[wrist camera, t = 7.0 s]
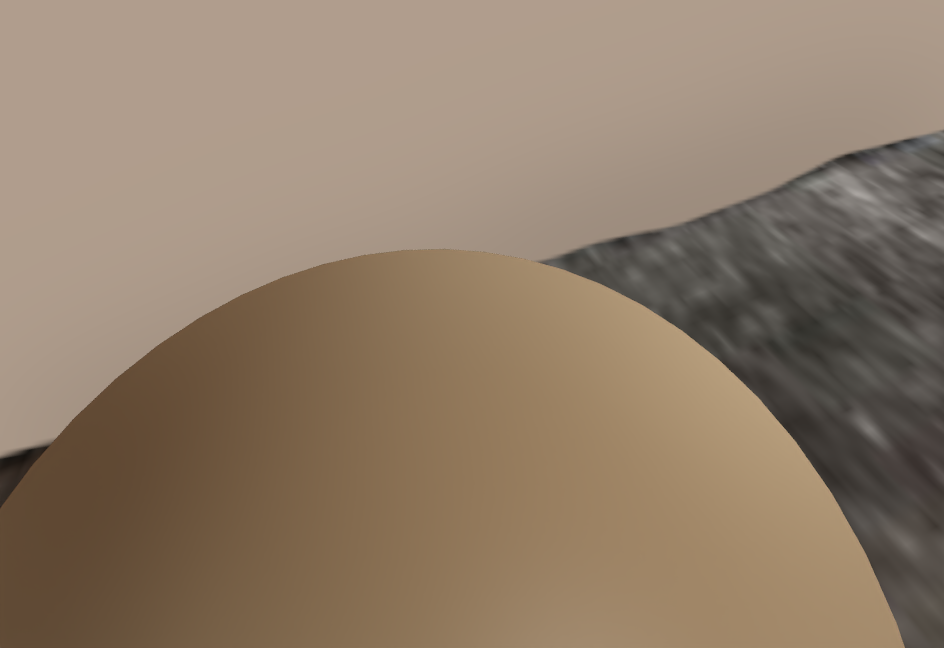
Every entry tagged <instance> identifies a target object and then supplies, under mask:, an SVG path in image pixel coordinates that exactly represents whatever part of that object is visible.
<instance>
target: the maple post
mask: <svg viewBox="0 0 944 648" xmlns="http://www.w3.org/2000/svg"><path fill="white" fill-rule="evenodd" d="M0 648H905V647H904V644H903V641H902V638H901V635H900V632H899V629H898V626H897V624H896V621H895V619H894V617H893V615H892V612H891V610H890V608H889V606H888V603H887V601H886V599H885V596H884V594H883V592H882V590H881V587H880V585H879V583H878V581H877V578H876V576H875V574H874V572H873V569H872V567H871V565H870V563H869V560H868V558H867V556H866V554H865V552H864V550H863V548H862V547H861V545H860V543H859V541H858V539H857V538H856V536H855V534H854V532H853V531H852V529H851V527H850V525H849V523H848V522H847V520H846V518H845V516H844V515H843V513H842V511H841V509H840V507H839V506H838V504H837V502H836V500H835V499H834V497H833V495H832V493H831V492H830V490H829V489H828V488H827V486H826V485H825V483H824V482H823V480H822V479H821V478H820V476H819V475H818V473H817V472H816V470H815V469H814V468H813V466H812V465H811V463H810V462H809V460H808V459H807V457H806V456H805V455H804V453H803V452H802V450H801V449H800V447H799V446H798V445H797V443H796V442H795V441H794V439H793V438H792V437H791V436H790V435H789V434H788V432H787V431H786V430H785V429H784V428H783V426H782V425H781V424H780V423H779V422H778V421H777V419H776V418H775V417H774V416H773V415H772V414H771V412H770V411H769V410H768V409H767V408H766V406H765V405H764V404H763V403H762V402H761V401H760V399H759V398H758V397H757V396H756V395H755V394H754V393H753V392H752V391H751V390H749V389H748V388H747V387H746V386H745V385H744V384H743V383H742V382H741V381H740V380H739V379H738V378H737V377H736V376H735V375H734V374H733V373H732V372H731V371H730V370H729V369H728V368H727V367H726V366H725V365H724V364H723V363H722V362H720V361H719V360H718V359H717V358H716V357H714V356H713V355H712V354H710V353H709V352H708V351H707V350H705V349H704V348H703V347H702V346H700V345H699V344H698V343H697V342H695V341H694V340H693V339H692V338H690V337H689V336H688V335H686V334H685V333H684V332H683V331H681V330H680V329H678V328H677V327H675V326H674V325H672V324H671V323H669V322H668V321H666V320H664V319H663V318H661V317H660V316H658V315H657V314H655V313H653V312H652V311H650V310H649V309H647V308H646V307H644V306H643V305H641V304H639V303H637V302H635V301H633V300H631V299H629V298H627V297H625V296H623V295H621V294H619V293H617V292H615V291H613V290H611V289H609V288H607V287H605V286H603V285H601V284H599V283H596V282H593V281H591V280H588V279H586V278H583V277H581V276H578V275H575V274H573V273H570V272H568V271H565V270H562V269H559V268H555V267H552V266H548V265H544V264H541V263H537V262H533V261H530V260H526V259H522V258H516V257H510V256H505V255H499V254H493V253H487V252H478V251H464V250H450V249H431V250H430V249H428V250H401V251H394V252H386V253H378V254H370V255H363V256H358V257H353V258H349V259H344V260H340V261H336V262H331V263H327V264H323V265H319V266H316V267H313V268H310V269H307V270H304V271H301V272H298V273H295V274H292V275H289V276H286V277H282V278H280V279H278V280H276V281H273V282H271V283H269V284H266V285H264V286H261V287H259V288H257V289H255V290H252V291H250V292H248V293H245V294H243V295H241V296H239V297H237V298H235V299H233V300H231V301H230V302H228V303H226V304H224V305H222V306H220V307H219V308H217V309H215V310H213V311H211V312H209V313H207V314H206V315H204V316H202V317H200V318H199V319H197V320H196V321H194V322H193V323H191V324H189V325H188V326H187V327H185V328H184V329H182V330H180V331H179V332H177V333H176V334H174V335H173V336H171V337H170V338H168V339H167V340H165V341H164V342H162V343H161V344H159V345H158V346H157V347H155V348H154V349H153V350H151V351H150V352H149V353H148V354H147V355H145V356H144V357H143V358H142V359H140V360H139V361H138V362H136V363H135V364H134V365H133V366H132V367H130V368H129V369H128V370H126V371H125V372H124V373H123V374H121V375H120V376H119V377H118V378H116V379H115V380H114V381H113V382H112V383H111V384H110V385H109V386H108V387H107V388H106V389H105V390H104V391H103V392H101V393H100V395H98V396H97V397H96V398H95V399H94V400H93V401H92V402H91V403H90V404H89V405H88V406H87V407H86V408H85V409H84V410H83V411H81V412H80V413H79V414H78V415H77V416H76V417H75V418H74V419H73V420H72V422H70V424H69V425H68V426H67V427H66V428H65V429H64V430H63V431H62V433H61V434H60V435H59V436H58V437H57V438H56V439H55V440H54V442H53V443H52V444H51V445H50V446H49V447H48V448H47V449H46V451H45V452H44V453H43V454H42V455H41V456H40V457H39V458H38V460H37V461H36V462H35V463H34V464H33V465H32V466H31V468H30V469H29V470H28V472H27V473H26V474H25V476H24V477H23V478H22V480H21V481H20V482H19V484H18V485H17V486H16V488H15V489H14V490H13V492H12V493H11V494H10V496H9V497H8V499H7V500H6V501H5V503H4V504H3V505H2V507H1V508H0Z"/></svg>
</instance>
